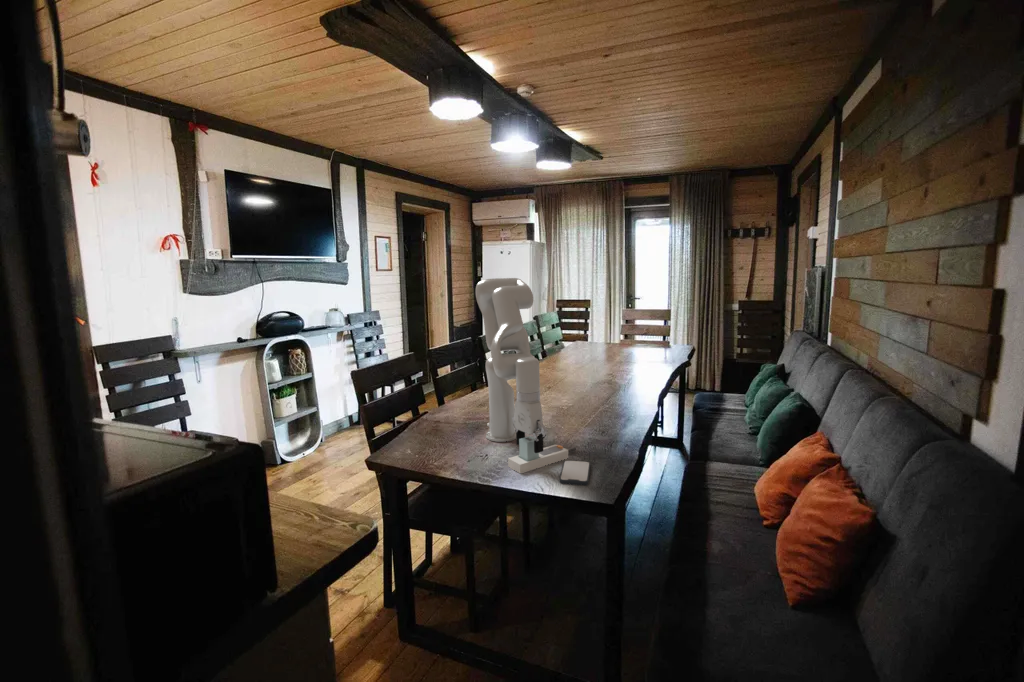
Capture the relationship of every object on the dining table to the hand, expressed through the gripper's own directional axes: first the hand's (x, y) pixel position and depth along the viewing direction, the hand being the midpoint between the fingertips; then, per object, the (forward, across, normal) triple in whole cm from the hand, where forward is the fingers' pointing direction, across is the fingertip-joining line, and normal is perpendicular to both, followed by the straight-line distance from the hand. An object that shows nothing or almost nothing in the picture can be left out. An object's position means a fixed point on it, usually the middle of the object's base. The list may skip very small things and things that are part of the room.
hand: (529, 447), depth 161 cm
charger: (+5, -1, 0) cm, 5 cm away
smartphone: (+7, +13, +8) cm, 17 cm away
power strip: (+6, -1, +7) cm, 10 cm away
